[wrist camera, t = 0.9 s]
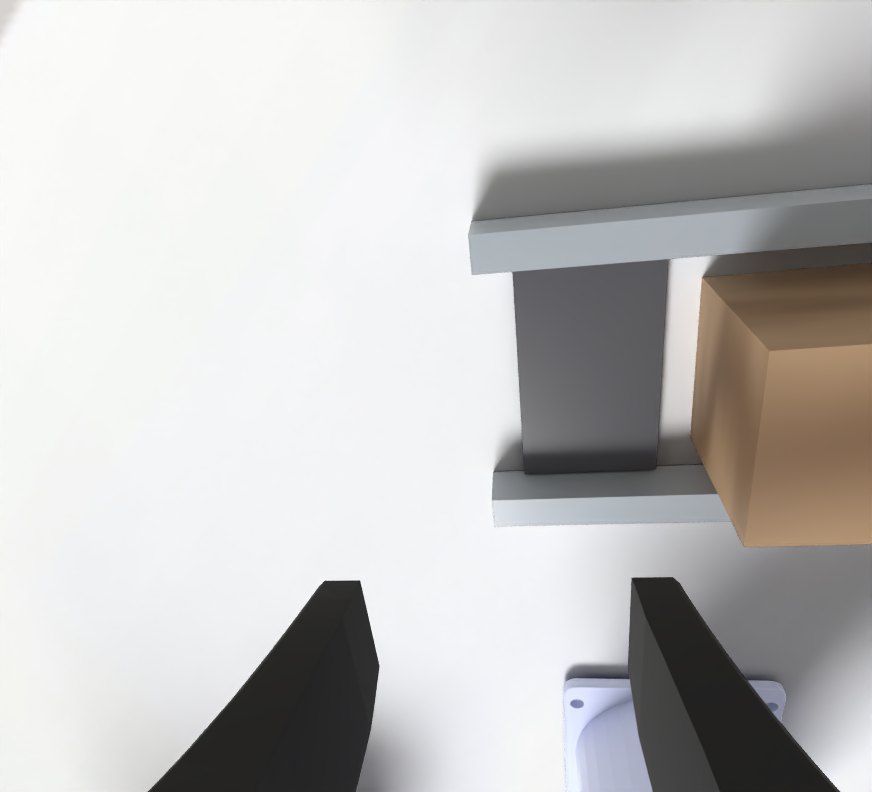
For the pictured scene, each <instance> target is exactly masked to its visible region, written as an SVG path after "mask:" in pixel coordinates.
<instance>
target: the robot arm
mask: <svg viewBox="0 0 872 792" xmlns="http://www.w3.org/2000/svg"><path fill="white" fill-rule="evenodd" d="M628 672H629V678H630V679H596V678H574V679H570V680H567V681H566V682H565V683H564V685H563V705H564V738H565V772H566V792H840V791H839V790H838V789H837V788H836V787H835V785H834V784H833V783H832V782H831V781H830V780H829V779H828V778H827V777H826V775H825V774H824V773H823V772H822V771H821V770H820V768H819V767H818V766H817V765H816V764H815V763H814V761H813V760H812V759H811V758H810V757H809V756H808V754H807V753H806V752H805V751H804V750H803V749H802V747H801V746H800V745H799V744H798V743H797V742H796V740H795V739H794V738H793V737H792V736H791V734H790V733H789V732H788V731H787V730H786V728H785V727H784V726H783V725H782V724H781V720H782V716H783V711H784V706H785V702H786V693H785V690H784V688H783V686H782V685H781V684H780V683H778V682H775V681H759V680H747V679H746V678H745V677H744V675H743V674H742V673H741V672H740V670H739V669H738V667H737V666H736V665H735V663H734V662H733V661H732V659H731V658H730V657H729V655H728V654H727V653H726V651H725V650H724V648H723V647H722V646H721V644H720V643H719V641H718V640H717V639H716V637H715V636H714V634H713V633H712V632H711V630H710V629H709V627H708V626H707V624H706V623H705V621H704V620H703V619H702V617H701V616H700V614H699V613H698V611H697V610H696V608H695V607H694V605H693V603H692V602H691V600H690V599H689V597H688V596H687V594H686V593H685V591H684V589H683V588H682V586H681V584H680V583H679V582H678V581H677V580H675V579H674V578H673V577H654V578H632V583H631V607H630V632H629V657H628ZM378 673H379V662H378V658H377V653H376V649H375V644H374V640H373V636H372V631H371V627H370V622H369V618H368V613H367V609H366V605H365V600H364V596H363V591H362V587H361V583H360V581H324V582H323V583H322V584H321V585H320V586H319V587H318V589H317V590H316V591H315V593H314V594H313V595H312V597H311V598H310V600H309V601H308V602H307V604H306V605H305V606H304V608H303V609H302V610H301V612H300V613H299V614H298V616H297V617H296V618H295V620H294V621H293V622H292V624H291V625H290V626H289V628H288V629H287V630H286V632H285V633H284V634H283V636H282V637H281V638H280V639H279V641H278V642H277V643H276V645H275V646H274V647H273V649H272V650H271V651H270V653H269V654H268V655H267V656H266V658H265V659H264V660H263V661H262V663H261V664H260V665H259V666H258V668H257V669H256V670H255V671H254V672H253V674H252V675H251V676H250V677H249V679H248V680H247V681H246V682H245V684H244V685H243V686H242V687H241V689H240V690H239V691H238V692H237V694H236V695H235V696H234V697H233V698H232V700H231V701H230V702H229V703H228V704H227V705H226V707H225V708H224V709H223V710H222V711H221V712H220V713H219V715H218V716H217V717H216V718H215V719H214V720H213V721H212V723H211V724H210V725H209V726H208V727H207V728H206V729H205V731H204V732H203V733H202V734H201V735H200V736H199V738H198V739H197V740H196V741H195V742H194V743H193V744H192V746H191V747H190V748H189V749H188V750H187V751H186V752H185V753H184V754H183V755H182V756H181V758H180V759H179V760H178V761H177V762H176V763H175V764H174V765H173V766H172V767H171V768H170V769H169V770H168V771H167V772H166V774H165V775H164V776H163V777H162V778H161V779H160V780H159V781H158V782H157V783H156V784H155V785H154V786H153V787H152V788H151V789H150V790H149V791H148V792H356V788H357V784H358V780H359V776H360V772H361V768H362V764H363V760H364V756H365V752H366V748H367V743H368V739H369V735H370V731H371V724H372V718H373V711H374V704H375V697H376V689H377V681H378Z"/></svg>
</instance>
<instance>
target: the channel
mask: <svg viewBox="0 0 872 792" xmlns="http://www.w3.org/2000/svg"><path fill="white" fill-rule="evenodd" d="M468 238H469V249H470V260H471V271H472V275H478V274H490V273H502V272H513V287H514V305H515V322H516V339H517V356H518V373H519V390H520V407H521V424H522V441H523V458H524V471H507V472H493V488H492V506H493V517H494V527H500V526H545V525H589V524H634V523H678V522H723V521H731V520H730V518H729V516H728V514H727V512H726V510H725V508H724V505H723V503H722V501H721V499H720V497H719V495H718V493H717V491H716V489H715V487H714V485H713V483H712V481H711V479H710V477H709V475H708V473H707V471H706V469H705V467H704V465H678V466H656V463H657V446H658V429H659V412H660V394H661V377H662V360H663V343H664V326H665V309H666V291H667V274H668V259H675V258H688V257H700V256H712V255H725V254H737V253H749V252H762V251H774V250H786V249H799V248H811V247H823V246H836V245H848V244H861V243H872V184H867V185H856V186H845V187H835V188H824V189H813V190H802V191H792V192H781V193H770V194H760V195H749V196H738V197H728V198H717V199H706V200H695V201H685V202H674V203H663V204H653V205H642V206H631V207H621V208H610V209H599V210H588V211H578V212H567V213H556V214H546V215H535V216H524V217H513V218H503V219H492V220H481V221H471V226H470V230H469V234H468Z"/></svg>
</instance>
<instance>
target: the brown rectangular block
mask: <svg viewBox="0 0 872 792" xmlns="http://www.w3.org/2000/svg"><path fill="white" fill-rule="evenodd" d="M690 438H691V440H692V442H693V444H694V446H695V448H696V450H697V452H698V454H699V456H700V458H701V460H702V463H703V465H704V467H705V469H706V471H707V473H708V475H709V477H710V479H711V481H712V483H713V485H714V487H715V489H716V491H717V493H718V495H719V497H720V499H721V501H722V503H723V505H724V508H725V510H726V512H727V514H728V516H729V518H730V520H731V522H732V524H733V526H734V528H735V530H736V532H737V534H738V536H739V538H740V540H741V542H742V544H743V546H744V547H773V546H815V545H857V544H872V263H865V264H853V265H841V266H830V267H818V268H806V269H795V270H783V271H772V272H760V273H748V274H737V275H725V276H713V277H702V285H701V299H700V312H699V326H698V340H697V353H696V367H695V381H694V394H693V408H692V422H691V435H690Z"/></svg>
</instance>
